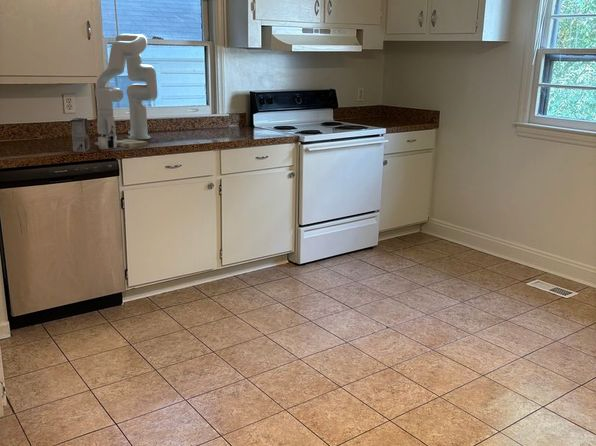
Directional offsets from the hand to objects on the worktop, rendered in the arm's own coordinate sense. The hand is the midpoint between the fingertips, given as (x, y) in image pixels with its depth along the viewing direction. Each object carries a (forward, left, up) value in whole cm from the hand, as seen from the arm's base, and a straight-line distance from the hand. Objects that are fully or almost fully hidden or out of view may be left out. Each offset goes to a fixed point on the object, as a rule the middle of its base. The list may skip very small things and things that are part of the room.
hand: (108, 146), depth 321 cm
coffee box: (-3, -14, -1) cm, 14 cm away
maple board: (0, +14, -1) cm, 14 cm away
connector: (0, 0, -1) cm, 1 cm away
